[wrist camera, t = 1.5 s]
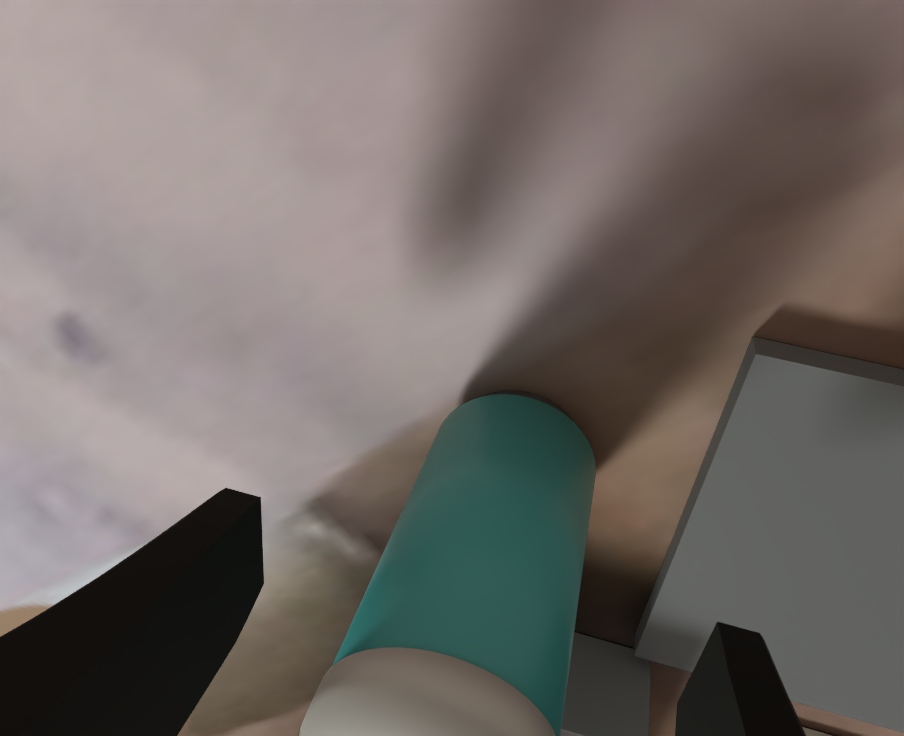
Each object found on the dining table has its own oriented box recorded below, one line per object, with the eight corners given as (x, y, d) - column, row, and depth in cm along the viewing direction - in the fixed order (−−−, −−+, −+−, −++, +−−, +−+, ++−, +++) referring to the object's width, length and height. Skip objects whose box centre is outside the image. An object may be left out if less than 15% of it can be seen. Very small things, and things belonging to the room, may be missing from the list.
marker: (618, 398, 14) (580, 744, 8) (581, 523, 16) (528, 881, 10) (449, 358, 14) (299, 657, 9) (432, 484, 16) (298, 802, 10)
